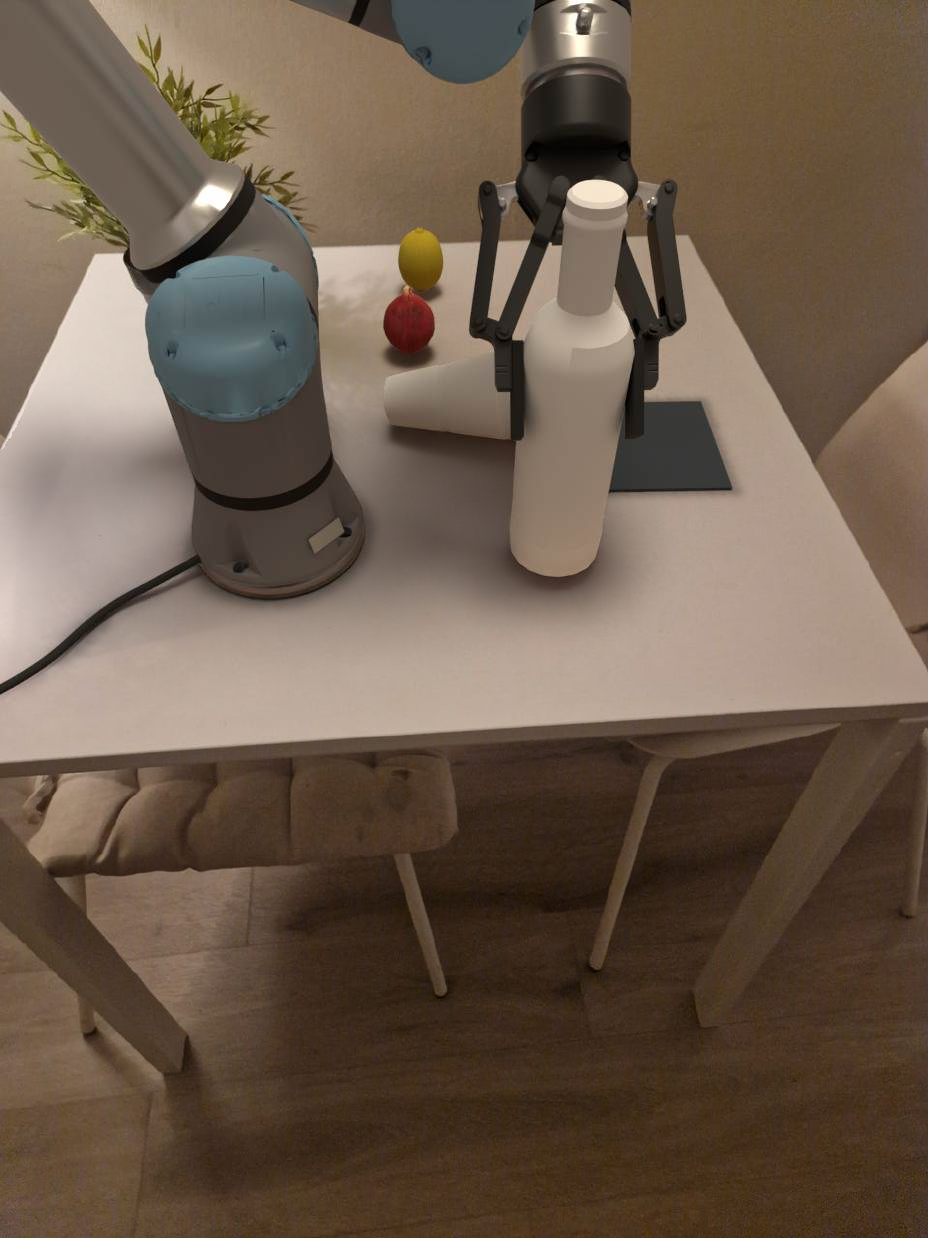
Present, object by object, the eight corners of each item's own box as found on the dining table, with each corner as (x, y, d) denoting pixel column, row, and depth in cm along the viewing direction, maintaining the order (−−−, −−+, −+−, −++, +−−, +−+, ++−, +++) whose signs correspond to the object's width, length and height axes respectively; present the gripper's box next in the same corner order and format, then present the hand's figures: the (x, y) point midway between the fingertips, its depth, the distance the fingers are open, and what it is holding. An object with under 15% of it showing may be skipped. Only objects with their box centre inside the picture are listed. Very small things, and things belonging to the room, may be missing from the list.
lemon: (395, 284, 102) (391, 220, 96) (436, 278, 103) (435, 214, 97) (406, 306, 98) (402, 241, 92) (449, 299, 100) (448, 235, 93)
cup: (388, 323, 80) (568, 311, 76) (411, 408, 88) (574, 401, 84) (366, 390, 74) (560, 380, 70) (393, 475, 82) (568, 471, 78)
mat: (589, 492, 77) (589, 489, 77) (572, 404, 86) (572, 402, 86) (731, 489, 77) (732, 487, 77) (700, 403, 86) (701, 400, 86)
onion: (442, 361, 91) (441, 295, 85) (395, 372, 90) (390, 305, 83) (425, 335, 94) (423, 270, 88) (379, 345, 93) (373, 279, 87)
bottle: (599, 518, 72) (663, 166, 49) (598, 582, 68) (670, 225, 44) (511, 511, 73) (534, 160, 50) (505, 574, 68) (526, 217, 45)
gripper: (423, 67, 51) (430, 432, 53) (744, 65, 51) (737, 428, 53) (427, 127, 58) (433, 445, 60) (707, 125, 58) (702, 441, 61)
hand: (575, 437), depth 57 cm, fingers closed on bottle, 8 cm apart
